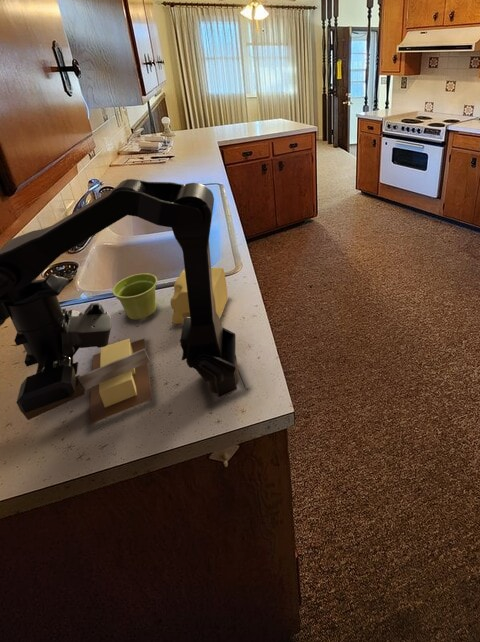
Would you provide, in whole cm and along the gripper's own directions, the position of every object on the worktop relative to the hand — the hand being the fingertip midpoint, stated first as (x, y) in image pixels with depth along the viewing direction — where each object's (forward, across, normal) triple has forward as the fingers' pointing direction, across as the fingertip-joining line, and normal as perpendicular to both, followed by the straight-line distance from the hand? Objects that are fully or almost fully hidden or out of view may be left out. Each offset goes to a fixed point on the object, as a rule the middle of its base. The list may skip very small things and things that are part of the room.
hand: (69, 391), depth 59 cm
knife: (+1, 0, -3) cm, 3 cm away
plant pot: (+6, +23, -12) cm, 27 cm away
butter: (+4, +6, -7) cm, 10 cm away
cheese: (+6, +16, -25) cm, 30 cm away
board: (+6, +4, -7) cm, 10 cm away
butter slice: (+4, -1, -7) cm, 8 cm away
